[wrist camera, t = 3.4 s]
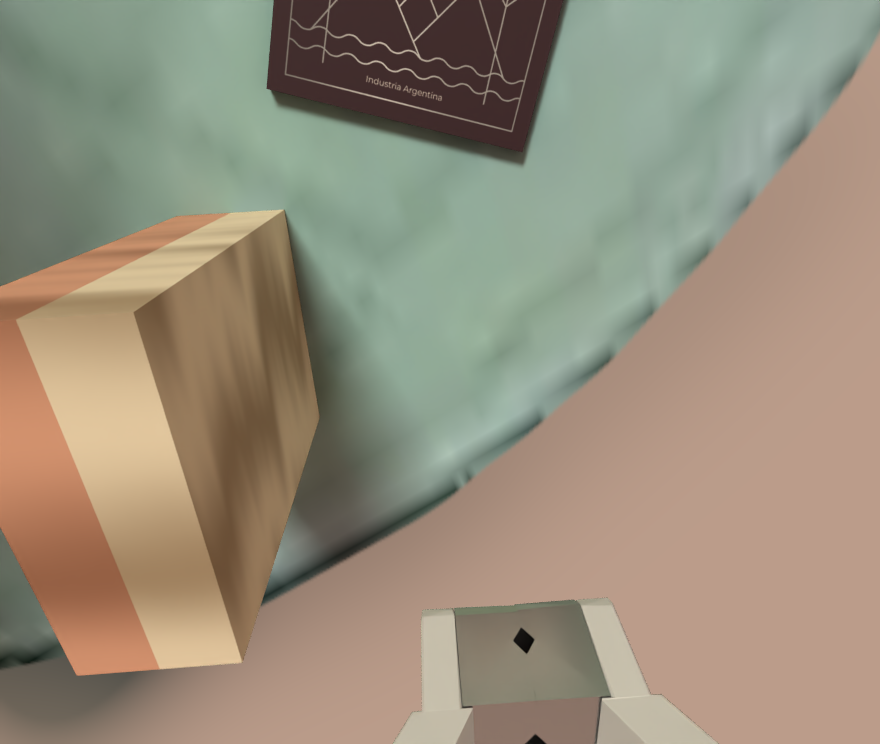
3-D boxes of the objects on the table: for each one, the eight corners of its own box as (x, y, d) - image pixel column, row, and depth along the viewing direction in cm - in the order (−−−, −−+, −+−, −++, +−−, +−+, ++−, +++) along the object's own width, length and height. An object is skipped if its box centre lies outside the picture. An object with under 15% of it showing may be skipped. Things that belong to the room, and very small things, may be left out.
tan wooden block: (176, 216, 20) (-103, 327, 9) (284, 209, 20) (133, 312, 9) (229, 423, 24) (76, 675, 13) (319, 417, 24) (242, 662, 13)
